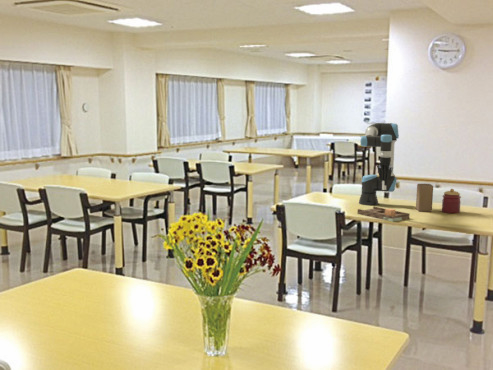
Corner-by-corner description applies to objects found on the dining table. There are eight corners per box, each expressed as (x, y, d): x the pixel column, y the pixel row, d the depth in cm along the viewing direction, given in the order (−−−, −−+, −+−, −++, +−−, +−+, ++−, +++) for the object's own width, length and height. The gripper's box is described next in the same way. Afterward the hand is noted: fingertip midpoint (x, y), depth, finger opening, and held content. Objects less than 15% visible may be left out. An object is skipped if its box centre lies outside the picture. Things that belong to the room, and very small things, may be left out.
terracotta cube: (384, 216, 370) (385, 209, 369) (389, 215, 373) (389, 208, 372) (390, 217, 366) (390, 210, 365) (395, 216, 369) (395, 209, 368)
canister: (447, 214, 389) (449, 190, 386) (438, 210, 402) (439, 187, 399) (463, 213, 391) (465, 189, 389) (453, 210, 404) (455, 187, 401)
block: (428, 209, 406) (430, 183, 403) (432, 212, 396) (433, 185, 393) (415, 209, 407) (416, 183, 404) (418, 211, 397) (419, 185, 394)
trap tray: (357, 213, 388) (357, 209, 388) (373, 211, 399) (374, 206, 398) (392, 221, 362) (392, 216, 362) (409, 218, 373) (409, 213, 372)
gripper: (374, 156, 376) (373, 188, 380) (389, 158, 366) (387, 191, 370) (381, 155, 380) (380, 187, 384) (396, 157, 370) (394, 190, 374)
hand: (384, 189), depth 377 cm, fingers closed
